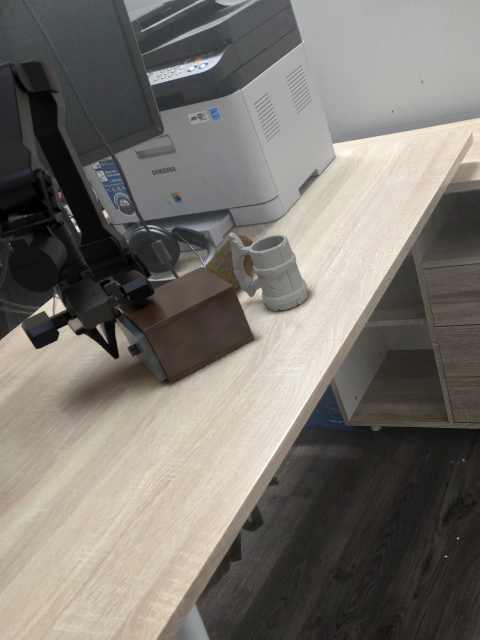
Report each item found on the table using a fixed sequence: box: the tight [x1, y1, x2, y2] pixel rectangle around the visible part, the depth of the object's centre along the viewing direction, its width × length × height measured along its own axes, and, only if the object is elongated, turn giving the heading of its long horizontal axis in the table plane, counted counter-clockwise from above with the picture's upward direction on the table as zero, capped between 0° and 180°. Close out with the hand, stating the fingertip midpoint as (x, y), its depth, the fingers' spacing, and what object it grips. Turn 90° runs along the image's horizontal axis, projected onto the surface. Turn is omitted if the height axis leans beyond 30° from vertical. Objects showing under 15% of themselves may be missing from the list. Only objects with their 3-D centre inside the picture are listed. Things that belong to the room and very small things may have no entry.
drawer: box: [116, 313, 167, 382], centre depth 100 cm, size 15×11×7 cm
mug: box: [228, 232, 308, 312], centre depth 106 cm, size 8×12×12 cm, turn 73°
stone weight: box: [203, 234, 255, 291], centre depth 117 cm, size 15×7×7 cm, turn 168°
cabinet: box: [117, 266, 255, 384], centre depth 101 cm, size 15×13×9 cm
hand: (116, 357), depth 101 cm, fingers closed
